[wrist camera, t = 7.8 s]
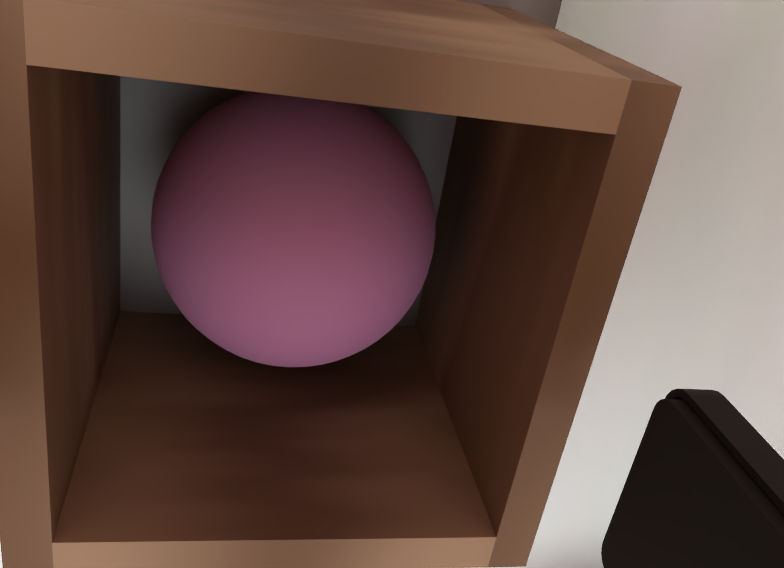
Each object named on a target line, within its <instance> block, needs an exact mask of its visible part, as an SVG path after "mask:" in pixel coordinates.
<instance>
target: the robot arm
mask: <svg viewBox="0 0 784 568" xmlns="http://www.w3.org/2000/svg"><path fill="white" fill-rule="evenodd" d="M601 554H602V562H603V566H604V568H784V459H783V458H782V457H781V456H780V455H779V454H778V453H777V452H776V451H775V450H774V449H773V448H772V447H771V446H770V445H769V443H768V442H767V441H766V440H765V439H764V438H763V437H762V436H761V435H760V434H759V433H758V432H757V431H756V430H755V429H754V427H753V426H752V425H751V424H750V423H749V422H748V421H747V420H746V419H745V418H744V417H743V416H742V415H741V414H740V413H739V412H738V410H737V409H736V408H735V407H734V406H733V405H732V404H731V403H730V402H729V401H728V400H727V399H726V398H725V397H724V396H723V395H722V394H721V393H719V392H718V391H714V390H697V389H675V390H672V391H671V392H670V393H669V394H668V395H667V396H666V398H665V399H662V400H660V401H659V402H658V403H656V405H655V407H654V409H653V412H652V414H651V417H650V420H649V422H648V425H647V428H646V430H645V433H644V435H643V438H642V441H641V443H640V446H639V449H638V451H637V454H636V456H635V459H634V462H633V464H632V467H631V470H630V472H629V475H628V477H627V480H626V483H625V485H624V488H623V491H622V493H621V496H620V498H619V501H618V504H617V506H616V509H615V512H614V514H613V517H612V519H611V522H610V525H609V527H608V530H607V533H606V535H605V538H604V540H603V544H602V552H601Z"/></svg>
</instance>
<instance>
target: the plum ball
mask: <svg viewBox="0 0 784 568" xmlns="http://www.w3.org/2000/svg"><path fill="white" fill-rule="evenodd" d="M151 237H152V245H153V250H154V255H155V260H156V264H157V267H158V270H159V273H160V275H161V278H162V281H163V283H164V285H165V287H166V289H167V291H168V293H169V294H170V296H171V298H172V299H173V301H174V303H175V304H176V305H177V307H178V308H179V309H180V311H181V312H182V314H183V315H184V316H185V318H186V319H187V320H188V321H189V322H190V323H191V324H192V325H193V326H194V327H195V328H196V329H197V330H198V331H200V332H201V333H202V334H203V335H205V336H206V337H207V338H208V339H210V340H211V341H212V342H214V343H215V344H217V345H219V346H220V347H222V348H224V349H225V350H227V351H229V352H231V353H233V354H235V355H237V356H239V357H242V358H245V359H248V360H251V361H254V362H257V363H262V364H266V365H271V366H281V367H308V366H316V365H322V364H326V363H331V362H335V361H338V360H340V359H343V358H346V357H349V356H351V355H353V354H355V353H357V352H360V351H362V350H364V349H365V348H367V347H369V346H370V345H372V344H373V343H375V342H376V341H378V340H379V339H380V338H382V337H383V336H384V335H385V334H387V333H388V332H389V331H390V330H391V329H392V328H393V327H394V326H395V325H396V324H397V323H398V322H399V321H400V320H401V319H402V317H403V316H404V315H405V313H406V312H407V311H408V309H409V308H410V307H411V305H412V304H413V302H414V301H415V299H416V297H417V296H418V294H419V292H420V290H421V288H422V286H423V284H424V281H425V279H426V277H427V274H428V270H429V266H430V263H431V259H432V255H433V250H434V242H435V212H434V205H433V199H432V194H431V191H430V187H429V184H428V181H427V178H426V176H425V173H424V171H423V169H422V167H421V165H420V163H419V160H418V158H417V157H416V155H415V153H414V152H413V150H412V149H411V147H410V146H409V144H408V143H407V142H406V140H405V139H404V138H403V137H402V136H401V135H400V133H399V132H398V131H397V130H396V129H395V128H394V127H393V126H392V125H391V124H390V123H389V122H388V121H387V120H385V119H384V118H383V117H382V116H381V115H380V114H379V113H377V112H376V111H374V110H373V109H371V108H370V107H368V106H367V105H361V104H353V103H345V102H336V101H328V100H319V99H311V98H302V97H294V96H286V95H277V94H269V93H260V92H252V91H248V92H245V93H243V94H240V95H237V96H235V97H233V98H231V99H229V100H227V101H225V102H223V103H221V104H219V105H218V106H216V107H215V108H213V109H212V110H210V111H209V112H208V113H206V114H205V115H203V116H202V117H201V118H200V119H199V120H197V121H196V122H195V123H194V124H193V125H192V126H191V127H190V128H189V129H188V130H187V131H186V132H185V134H184V135H183V136H182V137H181V139H180V140H179V141H178V142H177V144H176V145H175V147H174V149H173V150H172V152H171V154H170V155H169V157H168V159H167V161H166V163H165V164H164V167H163V169H162V172H161V174H160V177H159V179H158V181H157V185H156V189H155V194H154V198H153V206H152V217H151Z"/></svg>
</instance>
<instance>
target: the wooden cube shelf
mask: <svg viewBox="0 0 784 568" xmlns="http://www.w3.org/2000/svg"><path fill="white" fill-rule="evenodd" d="M561 1H562V0H0V542H1V552H2V563H3V568H470V567H516V566H526V563H527V560H528V557H529V554H530V551H531V548H532V545H533V542H534V539H535V535H536V532H537V529H538V526H539V523H540V520H541V517H542V514H543V511H544V508H545V505H546V502H547V499H548V496H549V493H550V489H551V486H552V483H553V480H554V477H555V474H556V471H557V468H558V465H559V462H560V459H561V456H562V453H563V450H564V447H565V444H566V440H567V437H568V434H569V431H570V428H571V425H572V422H573V419H574V416H575V413H576V410H577V407H578V404H579V401H580V398H581V394H582V391H583V388H584V385H585V382H586V379H587V376H588V373H589V370H590V367H591V364H592V361H593V358H594V355H595V352H596V349H597V345H598V342H599V339H600V336H601V333H602V330H603V327H604V324H605V321H606V318H607V315H608V312H609V309H610V306H611V303H612V299H613V296H614V293H615V290H616V287H617V284H618V281H619V278H620V275H621V272H622V269H623V266H624V263H625V260H626V257H627V253H628V250H629V247H630V244H631V241H632V238H633V235H634V232H635V229H636V226H637V223H638V220H639V217H640V214H641V211H642V208H643V204H644V201H645V198H646V195H647V192H648V189H649V186H650V183H651V180H652V177H653V174H654V171H655V168H656V165H657V162H658V158H659V155H660V152H661V149H662V146H663V143H664V140H665V137H666V134H667V131H668V128H669V125H670V122H671V119H672V116H673V113H674V109H675V106H676V103H677V100H678V97H679V94H680V91H681V88H682V87H681V86H679V85H677V84H675V83H672V82H670V81H668V80H666V79H664V78H661V77H659V76H657V75H655V74H653V73H651V72H648V71H646V70H644V69H642V68H640V67H637V66H635V65H633V64H631V63H629V62H626V61H624V60H622V59H620V58H618V57H616V56H613V55H611V54H609V53H607V52H605V51H602V50H600V49H598V48H596V47H594V46H592V45H589V44H587V43H585V42H583V41H581V40H578V39H576V38H574V37H572V36H570V35H567V34H565V33H563V32H561V31H559V30H557V29H555V26H556V22H557V18H558V14H559V10H560V5H561ZM248 91H252V92H260V93H269V94H277V95H286V96H294V97H302V98H311V99H319V100H328V101H336V102H345V103H353V104H361V105H367V106H368V107H370V108H371V109H373V110H374V111H376V112H377V113H379V114H380V115H381V116H382V117H383V118H384V119H385V120H387V121H388V122H389V123H390V124H391V125H392V126H393V127H394V128H395V129H396V130H397V131H398V132H399V133H400V135H401V136H402V137H403V138H404V139H405V140H406V142H407V143H408V144H409V146H410V147H411V149H412V150H413V152H414V153H415V155H416V157H417V158H418V160H419V163H420V165H421V167H422V169H423V171H424V173H425V176H426V178H427V181H428V184H429V187H430V191H431V194H432V199H433V205H434V212H435V242H434V250H433V255H432V259H431V263H430V266H429V270H428V274H427V277H426V279H425V281H424V284H423V286H422V288H421V290H420V292H419V294H418V296H417V297H416V299H415V301H414V302H413V304H412V305H411V307H410V308H409V309H408V311H407V312H406V313H405V315H404V316H403V317H402V319H401V320H400V321H399V322H398V323H397V324H396V325H395V326H394V327H393V328H392V329H391V330H390V331H389V332H388V333H387V334H385V335H384V336H383V337H382V338H380V339H379V340H378V341H376V342H375V343H373V344H372V345H370V346H369V347H367V348H365V349H364V350H362V351H360V352H357V353H355V354H353V355H351V356H349V357H346V358H343V359H340V360H338V361H335V362H331V363H326V364H322V365H316V366H308V367H281V366H271V365H266V364H262V363H257V362H254V361H251V360H248V359H245V358H242V357H239V356H237V355H235V354H233V353H231V352H229V351H227V350H225V349H224V348H222V347H220V346H219V345H217V344H215V343H214V342H212V341H211V340H210V339H208V338H207V337H206V336H205V335H203V334H202V333H201V332H200V331H198V330H197V329H196V328H195V327H194V326H193V325H192V324H191V323H190V322H189V321H188V320H187V319H186V318H185V316H184V315H183V314H182V312H181V311H180V309H179V308H178V307H177V305H176V304H175V303H174V301H173V299H172V298H171V296H170V294H169V293H168V291H167V289H166V287H165V285H164V283H163V281H162V278H161V275H160V273H159V270H158V267H157V264H156V260H155V255H154V250H153V245H152V237H151V217H152V206H153V198H154V194H155V189H156V185H157V181H158V179H159V177H160V174H161V172H162V169H163V167H164V164H165V163H166V161H167V159H168V157H169V155H170V154H171V152H172V150H173V149H174V147H175V145H176V144H177V142H178V141H179V140H180V139H181V137H182V136H183V135H184V134H185V132H186V131H187V130H188V129H189V128H190V127H191V126H192V125H193V124H194V123H195V122H196V121H197V120H199V119H200V118H201V117H202V116H203V115H205V114H206V113H208V112H209V111H210V110H212V109H213V108H215V107H216V106H218V105H219V104H221V103H223V102H225V101H227V100H229V99H231V98H233V97H235V96H237V95H240V94H243V93H245V92H248Z"/></svg>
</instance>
